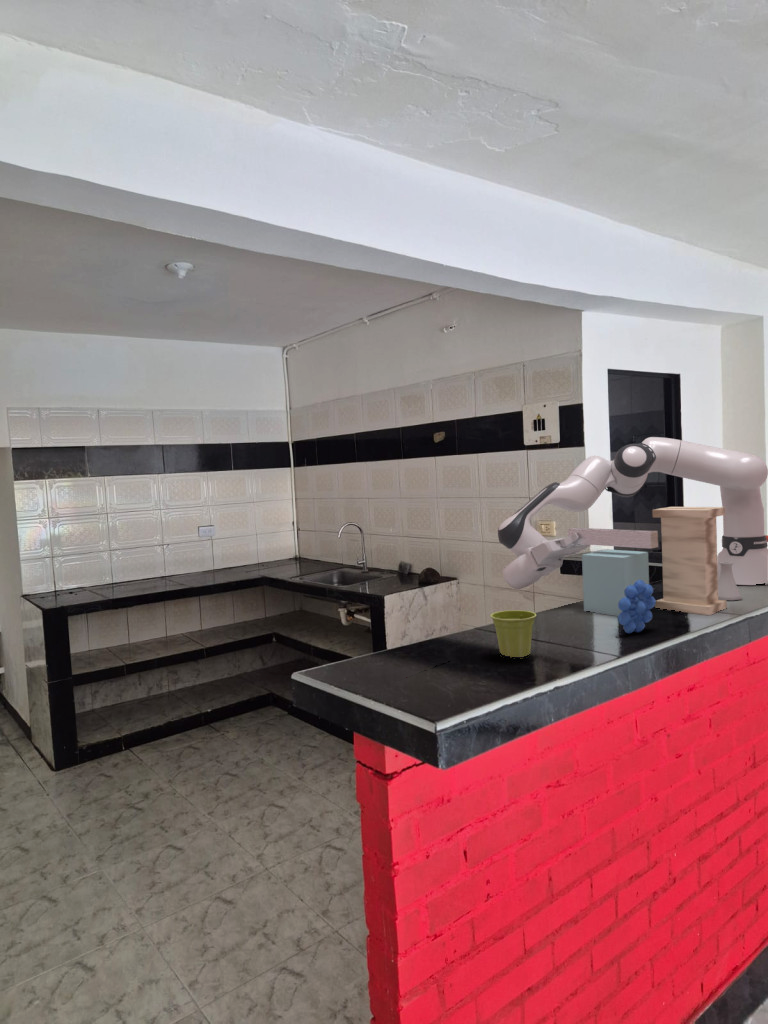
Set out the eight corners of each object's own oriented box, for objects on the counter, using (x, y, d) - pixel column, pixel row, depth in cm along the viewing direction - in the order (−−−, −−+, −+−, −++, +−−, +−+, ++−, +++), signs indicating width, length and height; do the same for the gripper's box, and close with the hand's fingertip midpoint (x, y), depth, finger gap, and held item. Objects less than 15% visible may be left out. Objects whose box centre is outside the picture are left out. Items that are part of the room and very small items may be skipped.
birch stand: (673, 602, 186) (671, 506, 184) (726, 608, 175) (724, 507, 173) (655, 608, 179) (652, 509, 177) (709, 615, 169) (706, 510, 167)
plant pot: (484, 653, 145) (482, 613, 145) (521, 647, 149) (520, 607, 148) (507, 664, 137) (505, 621, 136) (547, 657, 140) (545, 615, 140)
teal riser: (608, 603, 188) (606, 549, 187) (649, 608, 179) (648, 552, 178) (583, 611, 181) (581, 554, 180) (625, 617, 171) (623, 557, 170)
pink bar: (575, 542, 190) (574, 527, 190) (658, 546, 172) (657, 531, 171) (567, 543, 188) (567, 528, 187) (651, 548, 169) (650, 532, 169)
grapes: (639, 625, 163) (637, 575, 162) (663, 630, 157) (662, 578, 156) (605, 633, 157) (603, 581, 156) (629, 638, 151) (627, 585, 150)
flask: (747, 600, 183) (746, 563, 182) (719, 601, 183) (719, 564, 182) (733, 595, 190) (732, 560, 190) (707, 596, 190) (706, 561, 190)
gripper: (573, 561, 201) (609, 540, 191) (530, 571, 188) (567, 549, 178) (563, 542, 203) (598, 520, 193) (520, 551, 190) (556, 527, 180)
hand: (583, 534), depth 186 cm, fingers closed on pink bar, 3 cm apart
